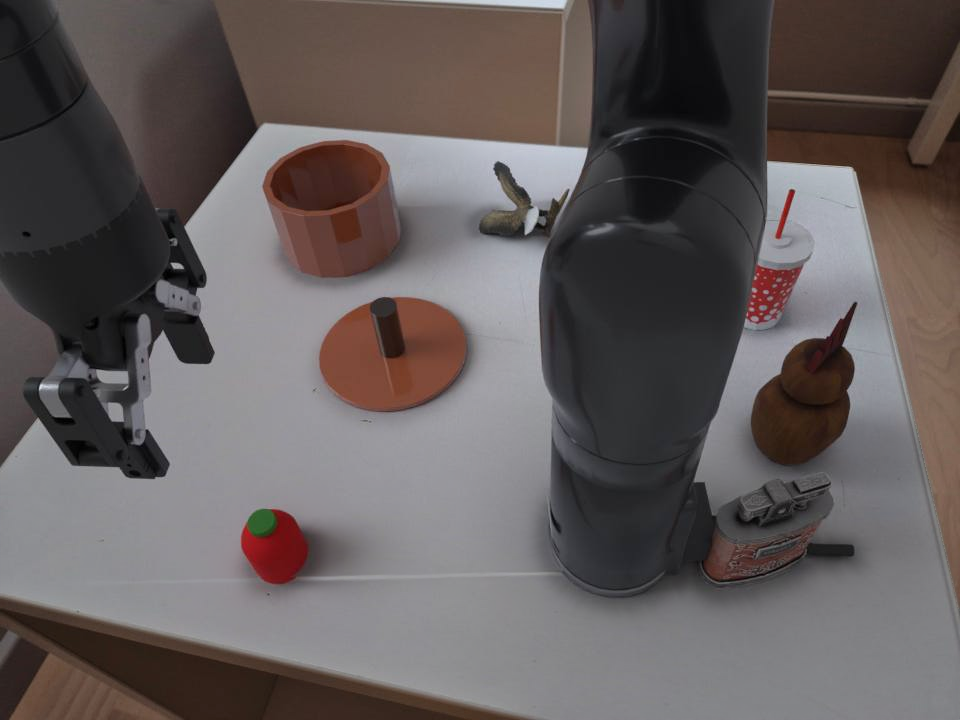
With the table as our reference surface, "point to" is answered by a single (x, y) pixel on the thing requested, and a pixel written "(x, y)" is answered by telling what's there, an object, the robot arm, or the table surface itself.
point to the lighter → (766, 531)
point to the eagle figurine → (518, 209)
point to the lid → (392, 354)
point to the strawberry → (274, 545)
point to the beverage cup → (777, 268)
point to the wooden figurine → (806, 399)
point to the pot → (333, 207)
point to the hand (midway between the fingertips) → (176, 412)
